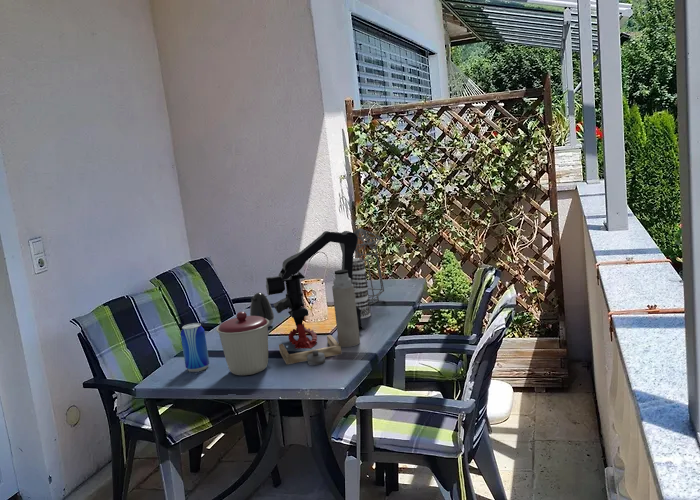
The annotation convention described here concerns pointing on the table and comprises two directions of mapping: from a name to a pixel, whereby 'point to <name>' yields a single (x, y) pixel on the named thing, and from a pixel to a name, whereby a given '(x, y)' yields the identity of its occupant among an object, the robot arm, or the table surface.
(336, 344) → the carrier
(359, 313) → the robot arm
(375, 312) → the table surface
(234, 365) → the canister
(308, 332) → the red cog wheel
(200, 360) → the beer can
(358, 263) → the decorative candle
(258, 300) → the dark grey rounded cone
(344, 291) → the thermos bottle
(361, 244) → the geometric lantern
